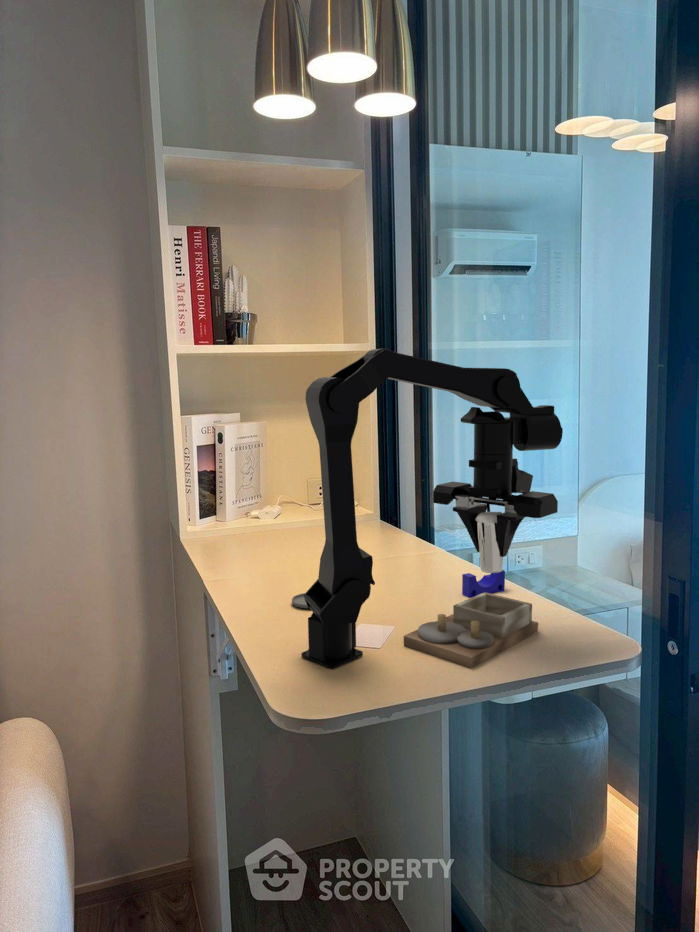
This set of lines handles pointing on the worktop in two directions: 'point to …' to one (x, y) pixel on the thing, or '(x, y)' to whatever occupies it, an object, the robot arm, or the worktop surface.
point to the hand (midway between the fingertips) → (491, 554)
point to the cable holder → (482, 584)
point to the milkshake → (488, 542)
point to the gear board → (475, 630)
